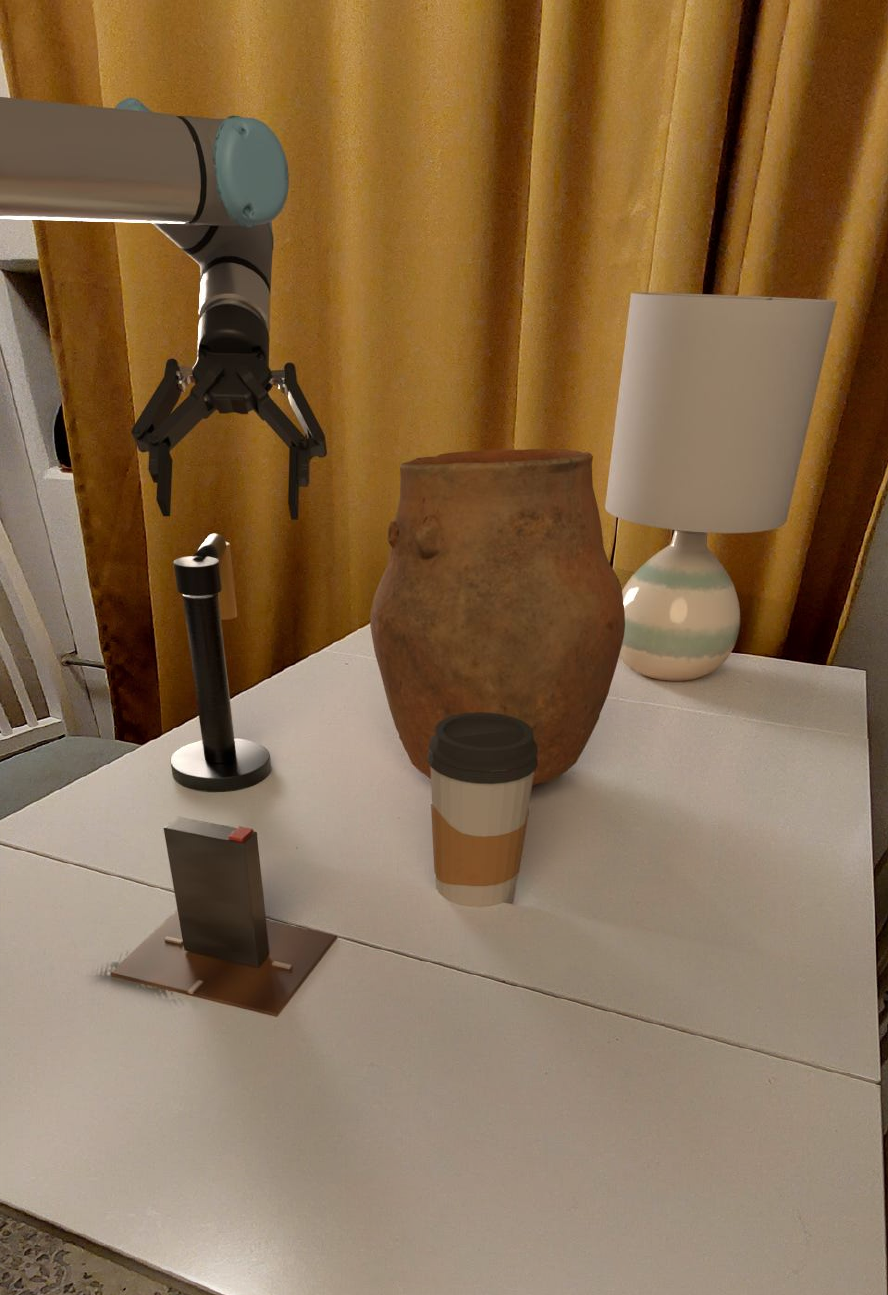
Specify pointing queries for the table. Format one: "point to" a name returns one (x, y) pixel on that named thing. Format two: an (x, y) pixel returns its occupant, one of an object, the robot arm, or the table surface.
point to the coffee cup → (480, 805)
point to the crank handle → (209, 574)
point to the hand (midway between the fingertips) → (228, 510)
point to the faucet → (214, 713)
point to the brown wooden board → (228, 967)
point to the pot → (498, 600)
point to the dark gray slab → (218, 890)
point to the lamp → (706, 456)
